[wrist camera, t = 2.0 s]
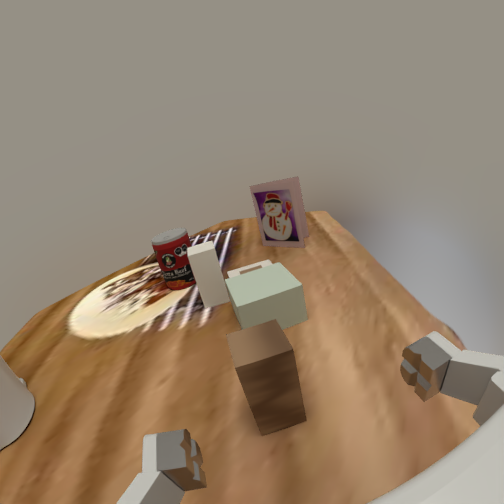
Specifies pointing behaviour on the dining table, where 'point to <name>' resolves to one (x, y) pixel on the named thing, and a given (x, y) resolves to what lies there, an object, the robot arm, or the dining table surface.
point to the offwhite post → (208, 274)
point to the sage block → (267, 297)
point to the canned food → (174, 258)
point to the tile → (248, 268)
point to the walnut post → (268, 375)
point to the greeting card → (280, 213)
